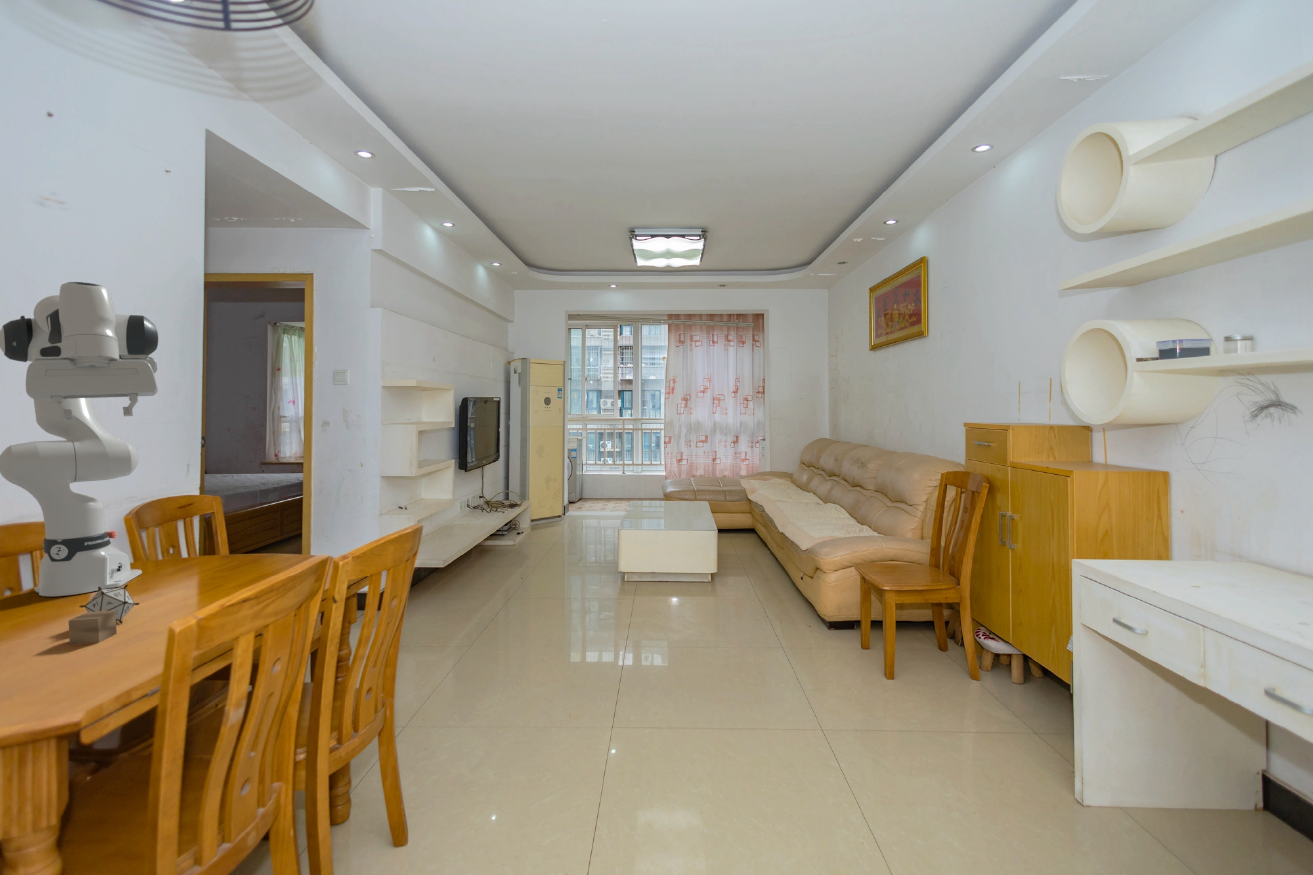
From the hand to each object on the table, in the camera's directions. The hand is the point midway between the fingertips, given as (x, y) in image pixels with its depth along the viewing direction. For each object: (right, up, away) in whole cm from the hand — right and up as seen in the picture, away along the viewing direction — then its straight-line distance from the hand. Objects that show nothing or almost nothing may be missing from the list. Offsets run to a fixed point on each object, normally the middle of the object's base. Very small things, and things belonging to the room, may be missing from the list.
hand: (98, 417), depth 124 cm
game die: (-2, -45, +5) cm, 45 cm away
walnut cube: (+3, -45, -4) cm, 46 cm away
